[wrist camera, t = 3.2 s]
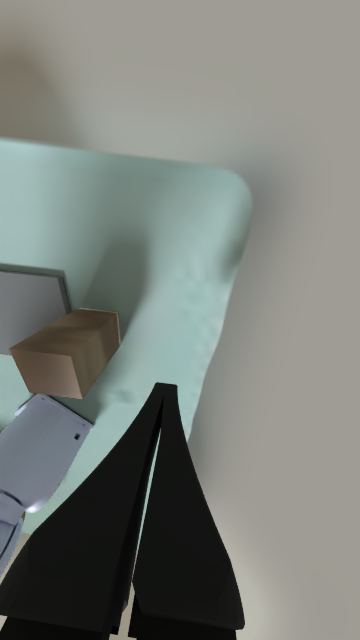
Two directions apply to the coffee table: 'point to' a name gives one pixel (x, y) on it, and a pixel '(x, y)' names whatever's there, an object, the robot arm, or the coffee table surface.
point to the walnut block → (68, 353)
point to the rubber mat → (28, 305)
